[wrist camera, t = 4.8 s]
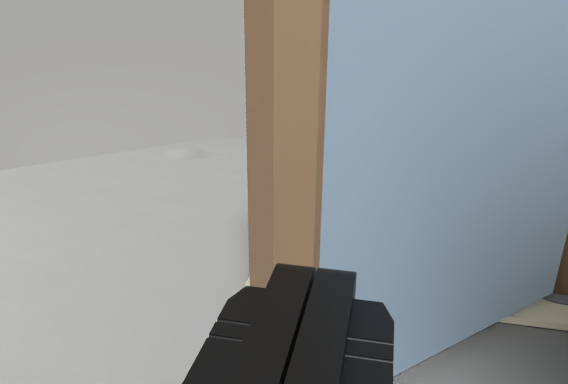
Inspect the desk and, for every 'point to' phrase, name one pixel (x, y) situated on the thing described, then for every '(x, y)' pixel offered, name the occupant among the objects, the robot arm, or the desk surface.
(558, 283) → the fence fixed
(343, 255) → the fence panel
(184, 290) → the desk surface
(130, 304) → the desk surface
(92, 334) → the desk surface
